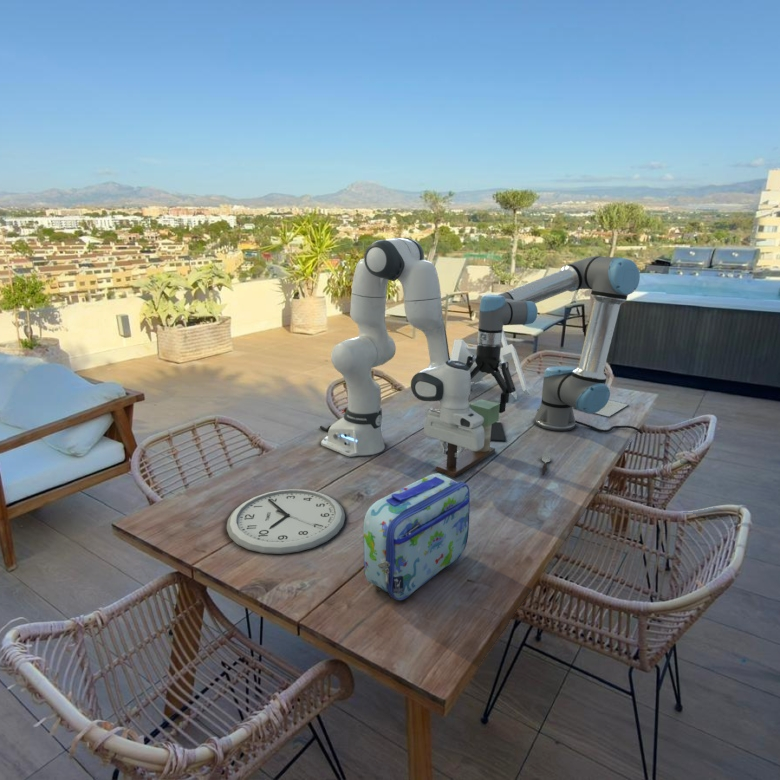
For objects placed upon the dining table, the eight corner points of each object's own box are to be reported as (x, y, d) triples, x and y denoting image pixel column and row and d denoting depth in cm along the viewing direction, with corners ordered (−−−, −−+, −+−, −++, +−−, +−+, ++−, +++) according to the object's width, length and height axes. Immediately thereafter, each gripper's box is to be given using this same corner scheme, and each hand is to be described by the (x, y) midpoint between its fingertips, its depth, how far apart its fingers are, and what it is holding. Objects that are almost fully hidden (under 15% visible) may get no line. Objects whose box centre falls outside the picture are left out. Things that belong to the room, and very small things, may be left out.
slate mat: (500, 423, 205) (500, 422, 204) (504, 441, 188) (505, 440, 187) (454, 421, 207) (454, 419, 206) (454, 438, 190) (454, 437, 189)
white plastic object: (461, 429, 252) (437, 405, 227) (444, 352, 274) (420, 323, 250) (535, 404, 240) (518, 377, 215) (510, 326, 262) (492, 293, 237)
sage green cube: (498, 420, 175) (500, 403, 173) (487, 426, 170) (488, 409, 168) (479, 415, 180) (480, 399, 178) (467, 421, 174) (469, 404, 172)
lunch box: (392, 613, 103) (394, 520, 97) (356, 587, 110) (356, 498, 104) (472, 558, 121) (478, 476, 114) (437, 539, 128) (441, 461, 122)
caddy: (494, 452, 178) (497, 420, 175) (454, 477, 160) (456, 442, 157) (477, 446, 183) (479, 416, 179) (435, 470, 164) (437, 436, 161)
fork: (538, 475, 162) (539, 470, 161) (542, 455, 176) (543, 450, 175) (547, 477, 161) (547, 471, 160) (550, 457, 175) (551, 451, 174)
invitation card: (608, 416, 214) (573, 407, 224) (608, 416, 214) (573, 408, 224) (628, 404, 229) (594, 396, 238) (628, 405, 229) (594, 397, 238)
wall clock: (345, 545, 122) (213, 550, 119) (345, 551, 122) (214, 556, 120) (344, 484, 150) (238, 487, 148) (345, 490, 151) (239, 492, 148)
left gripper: (420, 408, 163) (419, 449, 167) (477, 424, 150) (474, 468, 155) (432, 404, 167) (430, 443, 172) (488, 419, 155) (485, 461, 159)
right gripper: (449, 340, 172) (446, 401, 178) (519, 352, 157) (512, 419, 163) (462, 337, 177) (457, 396, 183) (530, 348, 162) (523, 413, 168)
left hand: (451, 455), depth 163 cm, fingers closed on caddy, 3 cm apart
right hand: (483, 407), depth 173 cm, fingers open, 13 cm apart
